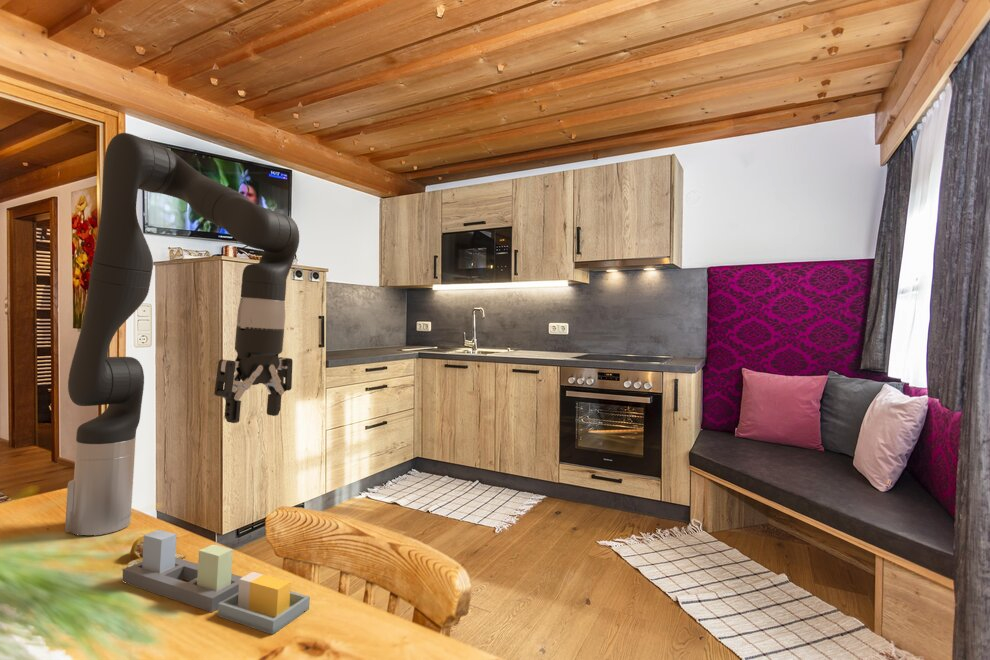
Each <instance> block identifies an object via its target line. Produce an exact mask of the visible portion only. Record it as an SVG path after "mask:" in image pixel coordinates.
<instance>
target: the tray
mask: <svg viewBox="0 0 990 660" xmlns="http://www.w3.org/2000/svg"><path fill="white" fill-rule="evenodd" d="M310 598H311V597H310V596H308V595H305V594H302V593H299V592H295V591H293V590H292V591H291V590H290V604H289V608H288V609H287V610H285V611H284V612H282V613H281V614H279V615H278V616H276V617H275V618H274V617H270V616H267V615H264V614H260V613H257V612H253V611H250V610H247V609H243V608H240V607H238V593H236V594H234V595H232V596H231V597H229V598H227V599H225V600H223V601H222V602H220V603H218V609H217V617H220V618H222V619H225V620H228V621H231V622H235V623H237V624H240V625H243V626H247V627H249V628H251V629H252V628H253V629H255V630H258V631H261V632H263V633H266V634H269V635H275V634H276V633H277V632H279V631H280V630H281V629H283V628H284V627H285V626H287V625H289V624H290V623H291V622H293V621H294V620H296V619H297V618H299V617H300V616H301V615H303V614H304V613H305V612H304V611H306V610H307V609H308V610H310ZM308 610H307V611H308ZM307 611H306V612H307ZM303 612H304V613H303ZM302 613H303V614H302Z"/></svg>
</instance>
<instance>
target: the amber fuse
mask: <svg viewBox="0 0 990 660" xmlns="http://www.w3.org/2000/svg"><path fill="white" fill-rule="evenodd" d="M241 577H242V578H240V579H239V592H238V607H240V608H243V609H247V610H250V611H253V612H257V613H260V614H264V615H267V616H270V617H274V618H275V617H276V616H278V615H279V614H281V613H282V612H284V611H285V610H287V609H288V608H289V604H290V591H291V586H292V585H291V583H292V582H291V581H290V580H286V579H281V578H278V577H274V576H271V575H267V574H263V573H259V572H255V571H251V572H249V573H248V574H245V575H244V576H241Z"/></svg>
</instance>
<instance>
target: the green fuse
mask: <svg viewBox="0 0 990 660" xmlns="http://www.w3.org/2000/svg"><path fill="white" fill-rule="evenodd" d="M233 556H234V549H232V548H228V547H225V546H221V545H217V544H211V545H209V546H206V547H204V548H202V549H199V550H198V557H197V558H198V562H197V564H198V575H197V586H200V587H203V588H207V589H210V590H213V591H216V592H217V591H219V590H221V589H223V588H225V587H227V586H228V585H230V584H231V574H232V570H233Z"/></svg>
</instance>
